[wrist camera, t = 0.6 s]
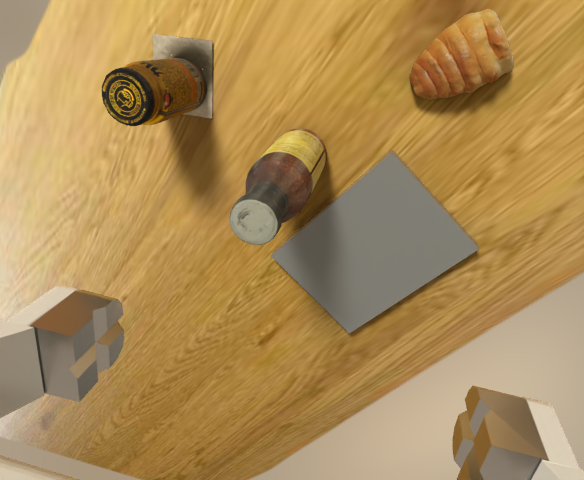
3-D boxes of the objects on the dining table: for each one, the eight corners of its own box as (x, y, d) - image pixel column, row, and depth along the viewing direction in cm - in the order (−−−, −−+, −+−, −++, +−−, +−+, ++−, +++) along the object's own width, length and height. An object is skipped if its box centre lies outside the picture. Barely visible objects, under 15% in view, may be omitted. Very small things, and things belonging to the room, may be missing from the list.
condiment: (156, 110, 53) (95, 129, 43) (153, 34, 49) (85, 34, 39) (212, 118, 52) (164, 140, 41) (213, 40, 48) (160, 42, 38)
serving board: (392, 149, 49) (391, 152, 47) (477, 243, 51) (479, 249, 50) (274, 251, 58) (270, 256, 56) (350, 326, 60) (349, 333, 59)
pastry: (426, 114, 47) (427, 120, 43) (397, 56, 45) (396, 57, 42) (516, 65, 43) (526, 68, 39) (489, 0, 41) (496, -4, 38)
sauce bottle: (270, 133, 51) (200, 185, 34) (321, 120, 49) (275, 169, 32) (285, 186, 53) (227, 260, 36) (334, 175, 51) (298, 249, 34)
